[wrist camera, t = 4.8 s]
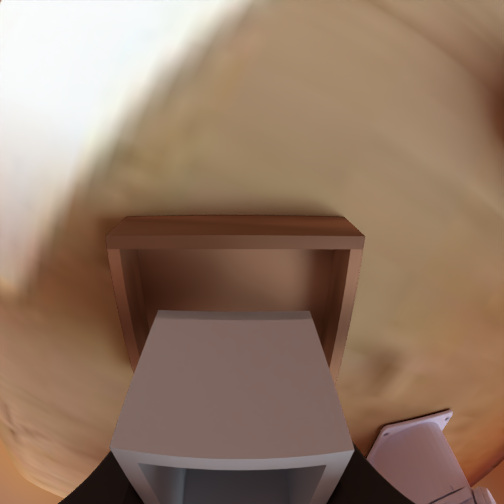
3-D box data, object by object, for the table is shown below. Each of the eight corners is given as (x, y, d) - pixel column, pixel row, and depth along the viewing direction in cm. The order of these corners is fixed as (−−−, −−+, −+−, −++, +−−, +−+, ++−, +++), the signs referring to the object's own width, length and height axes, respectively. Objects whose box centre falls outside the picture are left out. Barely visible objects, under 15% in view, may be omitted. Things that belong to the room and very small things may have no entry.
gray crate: (290, 434, 13) (305, 537, 8) (182, 433, 13) (169, 536, 8) (309, 310, 10) (354, 449, 5) (158, 310, 10) (109, 446, 5)
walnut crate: (321, 367, 20) (331, 400, 17) (151, 368, 19) (141, 400, 17) (344, 216, 16) (365, 236, 13) (126, 216, 16) (105, 236, 13)
